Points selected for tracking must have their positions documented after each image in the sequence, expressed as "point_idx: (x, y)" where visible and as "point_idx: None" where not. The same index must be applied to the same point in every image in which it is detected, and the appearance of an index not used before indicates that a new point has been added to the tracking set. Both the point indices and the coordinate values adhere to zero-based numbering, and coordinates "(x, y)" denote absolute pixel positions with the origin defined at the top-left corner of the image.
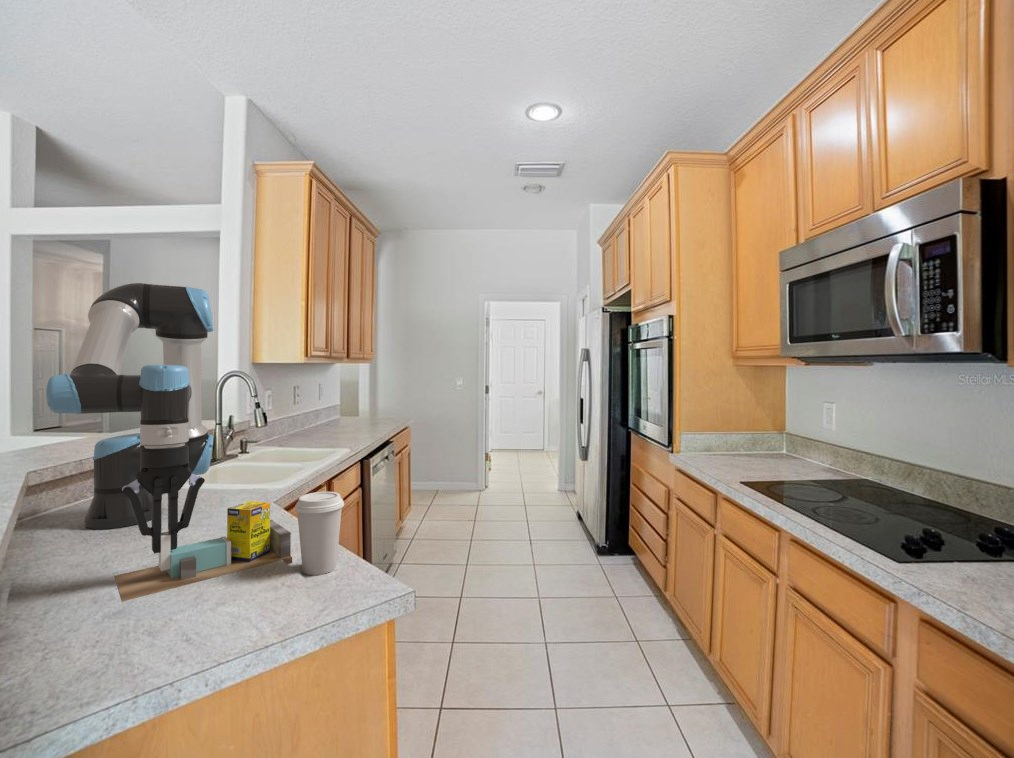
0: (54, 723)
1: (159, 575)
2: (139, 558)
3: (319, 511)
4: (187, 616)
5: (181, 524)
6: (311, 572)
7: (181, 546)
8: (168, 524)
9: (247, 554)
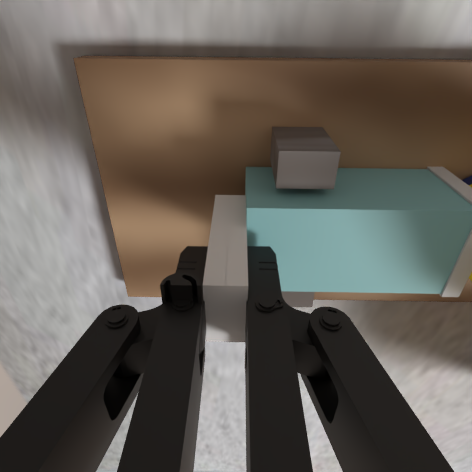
0: (101, 466)
1: (219, 184)
2: None
3: None
4: (238, 378)
5: (302, 374)
6: None
7: (302, 216)
8: (247, 335)
9: (470, 276)
